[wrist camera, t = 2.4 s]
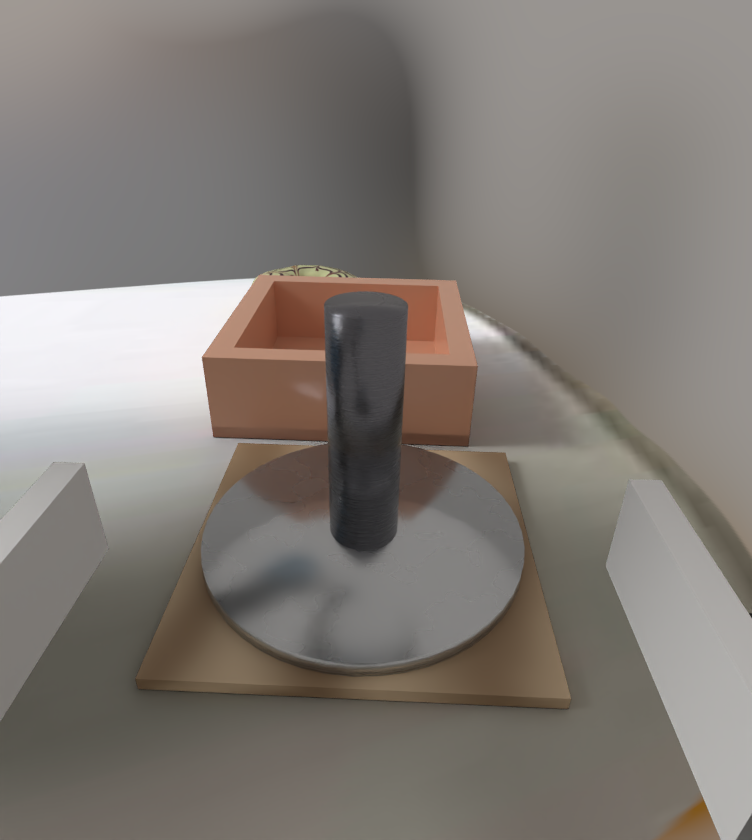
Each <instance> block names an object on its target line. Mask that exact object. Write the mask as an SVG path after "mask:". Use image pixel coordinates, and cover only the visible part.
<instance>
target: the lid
mask: <svg viewBox="0 0 752 840" xmlns="http://www.w3.org/2000/svg"><path fill="white" fill-rule="evenodd" d="M407 321H408V304H407V302H406V301H405V300H403V299H402V298H400V297H397V296H394V295H391V294H387V293H381V292H371V291H358V292H348V293H343V294H339V295H335V296H333V297H331V298H329V299H328V300H326V301H325V303H324V324H325V361H326V398H327V434H328V444H324V445H318V446H314V447H309V448H305V449H301V450H298V451H295V452H291V453H288V454H286V455H283V456H281V457H278V458H276V459H273V460H271V461H269V462H267V463H265V464H263V465H261V466H259V467H258V468H256V469H255V470H253V471H252V472H250V473H248V474H247V475H245V476H244V477H243V478H242V479H240V480H239V481H238V482H237V483H235V484H234V485H233V486H232V487H231V488H230V489H229V490H228V491H227V492H226V493H225V494H224V495H223V496H222V498H221V499H220V500H219V502H218V503H217V504H216V506H215V507H214V509H213V511H212V513H211V514H210V516H209V518H208V520H207V523H206V526H205V529H204V532H203V536H202V543H201V562H202V569H203V575H204V579H205V583H206V587H207V591H208V594H209V596H210V598H211V600H212V602H213V604H214V606H215V608H216V610H217V611H218V612H219V614H220V615H221V616H222V618H223V619H224V621H225V622H226V623H227V624H228V625H229V626H230V627H231V628H232V629H233V630H234V631H235V632H236V633H237V634H238V635H239V636H240V637H241V638H243V639H244V640H245V641H247V642H248V643H250V644H251V645H253V646H254V647H255V648H257V649H258V650H260V651H262V652H264V653H266V654H268V655H270V656H272V657H274V658H276V659H277V660H280V661H283V662H285V663H288V664H291V665H294V666H296V667H299V668H302V669H307V670H311V671H315V672H320V673H324V674H331V675H341V676H350V677H367V676H385V675H393V674H401V673H406V672H410V671H414V670H418V669H422V668H426V667H430V666H432V665H435V664H437V663H440V662H442V661H445V660H448V659H450V658H452V657H454V656H456V655H458V654H459V653H461V652H463V651H465V650H467V649H468V648H470V647H472V646H473V645H474V644H476V643H477V642H478V641H480V640H481V639H482V638H484V637H485V636H486V635H488V634H489V633H490V631H491V630H492V629H493V628H494V627H495V626H496V625H497V624H498V623H499V622H500V621H501V620H502V618H503V617H504V615H505V614H506V613H507V611H508V610H509V608H510V607H511V605H512V603H513V600H514V598H515V596H516V594H517V591H518V588H519V584H520V579H521V575H522V570H523V565H524V549H525V547H524V541H523V535H522V531H521V528H520V525H519V523H518V520H517V518H516V516H515V514H514V512H513V511H512V509H511V507H510V506H509V504H508V503H507V502H506V500H505V499H504V498H503V496H502V495H501V494H500V493H499V492H498V491H497V490H496V489H495V488H494V487H493V486H492V485H491V484H490V483H488V482H487V481H486V480H485V479H483V478H482V477H481V476H479V475H478V474H476V473H475V472H473V471H472V470H470V469H469V468H467V467H465V466H463V465H461V464H459V463H457V462H455V461H453V460H451V459H449V458H446V457H444V456H441V455H439V454H436V453H433V452H430V451H427V450H423V449H420V448H416V447H411V446H407V445H401V444H402V424H403V403H404V383H405V362H406V342H407Z"/></svg>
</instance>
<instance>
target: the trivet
mask: <svg viewBox="0 0 752 840" xmlns="http://www.w3.org/2000/svg"><path fill="white" fill-rule="evenodd" d="M309 447H314V446H305V445H278V444H250V443H238V445H237V447H236V450H235V452H234V454H233V457H232V459H231V461H230V463H229V466H228V468H227V470H226V473H225V475H224V477H223V479H222V482H221V484H220V486H219V489H218V491H217V493H216V495H215V498H214V500H213V502H212V505H211V507H210V509H209V511H208V514H207V516H206V518H205V521H204V523H203V525H202V527H201V530H200V532H199V534H198V537H197V539H196V541H195V543H194V546H193V548H192V550H191V552H190V555H189V557H188V559H187V562H186V564H185V566H184V568H183V571H182V573H181V575H180V578H179V580H178V582H177V584H176V587H175V589H174V591H173V594H172V596H171V598H170V600H169V603H168V605H167V607H166V610H165V612H164V614H163V616H162V619H161V621H160V623H159V626H158V628H157V630H156V632H155V635H154V637H153V639H152V642H151V644H150V646H149V648H148V651H147V653H146V655H145V658H144V660H143V662H142V664H141V667H140V669H139V671H138V674H137V676H136V678H135V680H136V683H137V687H138V689H149V690H171V691H192V692H214V693H235V694H257V695H279V696H300V697H322V698H343V699H365V700H386V701H408V702H430V703H451V704H473V705H494V706H516V707H537V708H559V709H568V708H569V705H570V702H571V696H570V692H569V688H568V684H567V681H566V677H565V673H564V670H563V666H562V662H561V658H560V655H559V651H558V647H557V643H556V640H555V636H554V632H553V629H552V625H551V621H550V617H549V614H548V610H547V606H546V603H545V599H544V595H543V591H542V588H541V584H540V580H539V576H538V573H537V569H536V565H535V562H534V558H533V554H532V550H531V547H530V543H529V539H528V535H527V532H526V528H525V524H524V521H523V517H522V513H521V509H520V506H519V502H518V498H517V494H516V491H515V487H514V483H513V480H512V476H511V472H510V468H509V465H508V461H507V457H506V453H498V452H471V451H443V450H427V451H430V452H433V453H436V454H439V455H441V456H444V457H446V458H449V459H451V460H453V461H455V462H457V463H459V464H461V465H463V466H465V467H467V468H469V469H470V470H472V471H473V472H475V473H476V474H478V475H479V476H481V477H482V478H483V479H485V480H486V481H487V482H488V483H490V484H491V485H492V486H493V487H494V488H495V489H496V490H497V491H498V492H499V493H500V494H501V495H502V496H503V498H504V499H505V500H506V502H507V503H508V504H509V506H510V507H511V509H512V511H513V512H514V514H515V516H516V518H517V520H518V523H519V525H520V528H521V531H522V535H523V541H524V547H525V549H524V565H523V570H522V575H521V579H520V584H519V588H518V591H517V594H516V596H515V598H514V600H513V603H512V605H511V607H510V608H509V610H508V611H507V613H506V614H505V615H504V617H503V618H502V620H501V621H500V622H499V623H498V624H497V625H496V626H495V627H494V628H493V629H492V630H491V631H490V633H489V634H488V635H486V636H485V637H484V638H482V639H481V640H480V641H478V642H477V643H476V644H474V645H473V646H472V647H470V648H468V649H467V650H465V651H463V652H461V653H459V654H458V655H456V656H454V657H452V658H450V659H448V660H445V661H442V662H440V663H437V664H435V665H432V666H430V667H426V668H422V669H418V670H414V671H410V672H406V673H401V674H393V675H385V676H367V677H350V676H341V675H331V674H324V673H320V672H315V671H311V670H307V669H302V668H299V667H296V666H294V665H291V664H288V663H285V662H283V661H280V660H277V659H276V658H274V657H272V656H270V655H268V654H266V653H264V652H262V651H260V650H258V649H257V648H255V647H254V646H253V645H251V644H250V643H248V642H247V641H245V640H244V639H243V638H241V637H240V636H239V635H238V634H237V633H236V632H235V631H234V630H233V629H232V628H231V627H230V626H229V625H228V624H227V623H226V622H225V621H224V619H223V618H222V616H221V615H220V614H219V612H218V611H217V610H216V608H215V606H214V604H213V602H212V600H211V598H210V596H209V594H208V591H207V587H206V583H205V579H204V575H203V569H202V562H201V543H202V536H203V532H204V529H205V526H206V523H207V520H208V518H209V516H210V514H211V513H212V511H213V509H214V507H215V506H216V504H217V503H218V502H219V500H220V499H221V498H222V496H223V495H224V494H225V493H226V492H227V491H228V490H229V489H230V488H231V487H232V486H233V485H234V484H235V483H237V482H238V481H239V480H240V479H242V478H243V477H244V476H245V475H247V474H248V473H250V472H252V471H253V470H255V469H256V468H258V467H259V466H261V465H263V464H265V463H267V462H269V461H271V460H273V459H276V458H278V457H281V456H283V455H286V454H288V453H291V452H295V451H298V450H301V449H305V448H309Z"/></svg>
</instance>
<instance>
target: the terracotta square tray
mask: <svg viewBox="0 0 752 840" xmlns="http://www.w3.org/2000/svg"><path fill="white" fill-rule="evenodd" d="M358 291H371V292H381V293H387V294H391V295H394V296H397V297H400V298H402V299H403V300H405V301H406V302H407V304H408V321H407V342H406V362H405V383H404V403H403V424H402V444H423V445H450V446H468V444H469V435H470V427H471V418H472V410H473V401H474V393H475V384H476V376H477V367H478V366H477V362H476V358H475V354H474V350H473V346H472V342H471V338H470V334H469V330H468V326H467V322H466V318H465V315H464V311H463V307H462V303H461V299H460V295H459V291H458V287H457V283H456V281H447V280H415V279H379V278H348V277H314V276H280V275H259V276H258V277H257V279H256V280H255V282H254V283H253V284H252V286H251V287H250V289H249V290H248V292H247V293H246V295H245V296H244V297H243V299H242V300H241V302H240V303H239V305H238V306H237V307H236V309H235V310H234V312H233V313H232V315H231V316H230V318H229V319H228V320H227V322H226V323H225V325H224V326H223V328H222V329H221V330H220V332H219V333H218V335H217V336H216V338H215V339H214V341H213V342H212V343H211V345H210V346H209V348H208V349H207V351H206V352H205V354H204V355H203V356H202V361H203V368H204V375H205V382H206V389H207V396H208V402H209V409H210V416H211V423H212V430H213V437H229V438H256V439H284V440H312V441H328V434H327V398H326V361H325V324H324V303H325V301H326V300H328V299H329V298H331V297H333V296H335V295H339V294H343V293H348V292H358Z"/></svg>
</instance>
